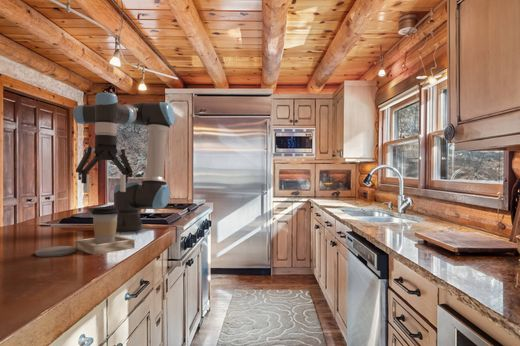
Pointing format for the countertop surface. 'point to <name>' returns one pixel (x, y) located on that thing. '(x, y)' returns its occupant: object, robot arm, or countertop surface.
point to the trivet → (55, 251)
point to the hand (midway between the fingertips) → (105, 192)
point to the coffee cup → (105, 224)
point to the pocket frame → (104, 245)
